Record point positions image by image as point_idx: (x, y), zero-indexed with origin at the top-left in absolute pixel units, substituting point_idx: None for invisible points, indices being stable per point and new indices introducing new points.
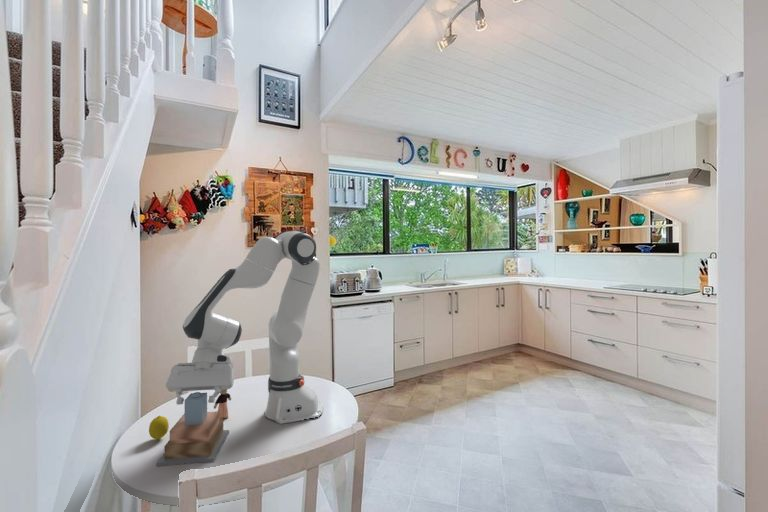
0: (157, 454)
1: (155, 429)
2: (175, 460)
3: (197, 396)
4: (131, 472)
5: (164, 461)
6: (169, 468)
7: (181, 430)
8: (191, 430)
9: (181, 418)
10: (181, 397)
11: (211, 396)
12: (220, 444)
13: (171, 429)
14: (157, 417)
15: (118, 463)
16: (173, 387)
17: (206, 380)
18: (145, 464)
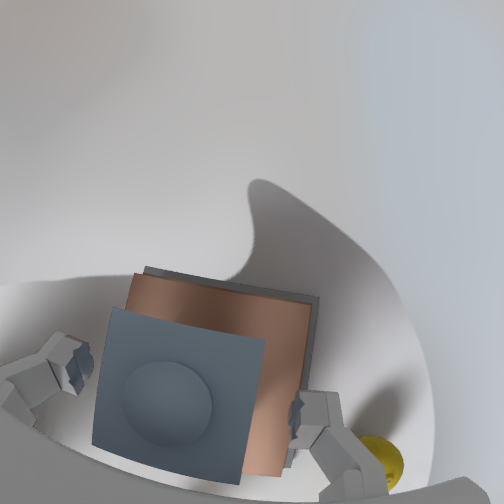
0: (333, 366)
1: (377, 441)
2: (263, 293)
3: (148, 363)
4: (371, 287)
5: (297, 297)
6: (274, 275)
7: (255, 296)
8: (209, 289)
9: (284, 426)
10: (310, 421)
11: (54, 355)
12: None
13: (306, 318)
14: (391, 475)
15: (417, 340)
16: (422, 489)
17: (34, 492)
18: (350, 317)
